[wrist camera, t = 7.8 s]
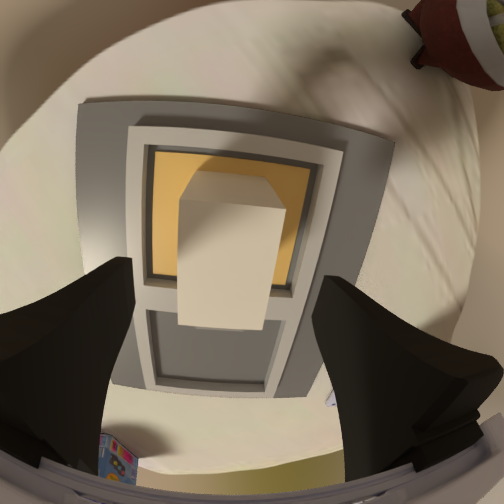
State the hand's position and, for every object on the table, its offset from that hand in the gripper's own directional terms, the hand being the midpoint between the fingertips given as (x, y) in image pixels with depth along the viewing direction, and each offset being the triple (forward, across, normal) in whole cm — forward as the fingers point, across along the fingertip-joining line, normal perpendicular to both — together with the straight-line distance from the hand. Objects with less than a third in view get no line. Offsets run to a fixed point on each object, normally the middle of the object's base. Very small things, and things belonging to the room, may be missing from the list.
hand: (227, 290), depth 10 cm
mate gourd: (+8, -12, -15) cm, 21 cm away
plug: (+8, 0, 0) cm, 8 cm away
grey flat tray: (+8, 0, +6) cm, 10 cm away
